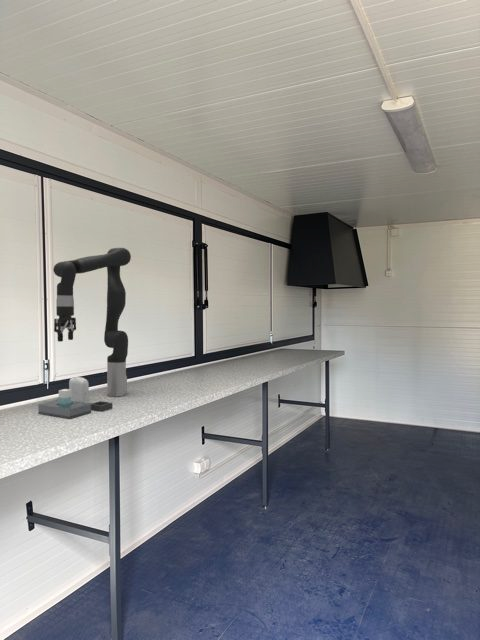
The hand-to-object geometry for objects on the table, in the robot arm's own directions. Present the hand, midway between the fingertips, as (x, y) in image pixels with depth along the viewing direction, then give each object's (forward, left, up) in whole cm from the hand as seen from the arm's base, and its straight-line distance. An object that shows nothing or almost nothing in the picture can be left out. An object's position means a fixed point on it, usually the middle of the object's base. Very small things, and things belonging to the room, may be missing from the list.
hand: (65, 340), depth 210 cm
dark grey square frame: (-1, +20, -30) cm, 36 cm away
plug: (+12, +12, -29) cm, 33 cm away
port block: (+12, +12, -30) cm, 34 cm away
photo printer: (-5, +3, -30) cm, 31 cm away
